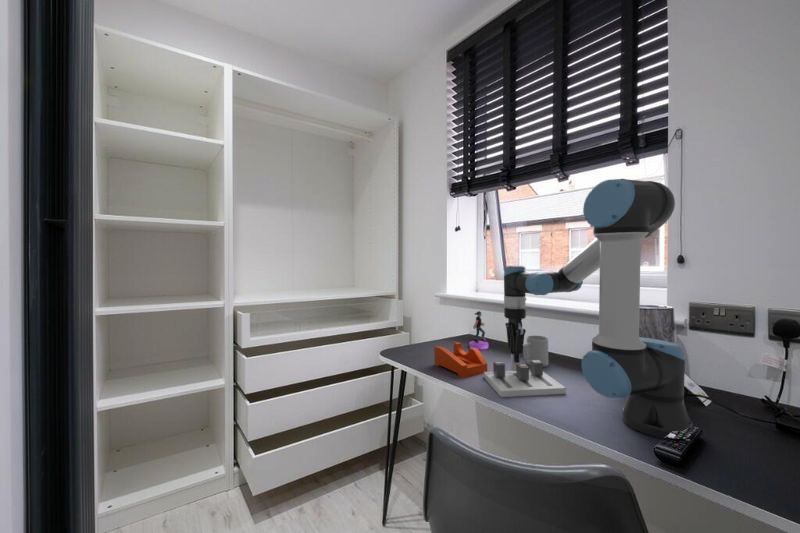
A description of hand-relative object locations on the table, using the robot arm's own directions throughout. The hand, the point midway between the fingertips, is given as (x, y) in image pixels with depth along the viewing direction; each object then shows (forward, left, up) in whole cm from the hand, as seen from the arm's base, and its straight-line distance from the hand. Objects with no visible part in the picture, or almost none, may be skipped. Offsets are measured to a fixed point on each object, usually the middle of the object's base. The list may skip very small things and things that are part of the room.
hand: (515, 370), depth 127 cm
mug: (+15, -14, -4) cm, 21 cm away
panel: (-6, 0, -3) cm, 7 cm away
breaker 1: (-2, +7, -1) cm, 7 cm away
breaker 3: (-2, -7, -1) cm, 7 cm away
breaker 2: (-6, 0, -1) cm, 6 cm away
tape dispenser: (+14, +18, -4) cm, 23 cm away
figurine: (+44, +1, -4) cm, 44 cm away
